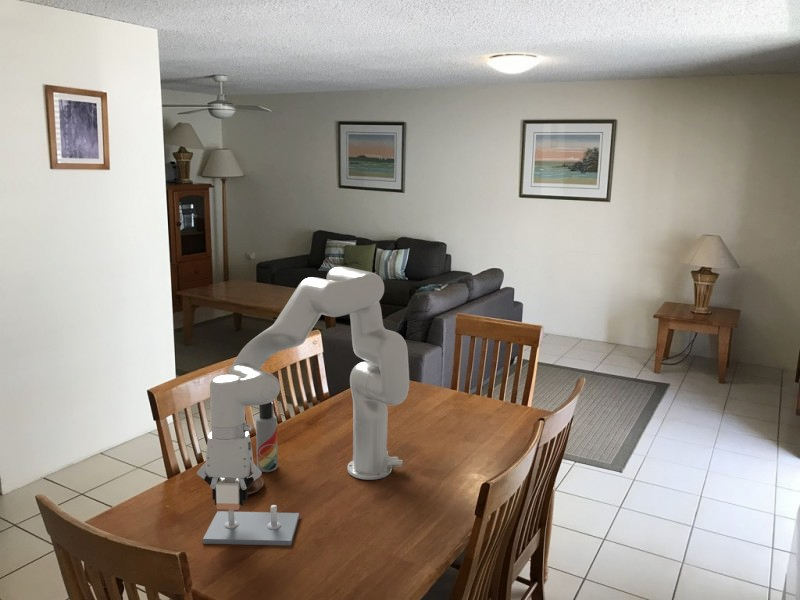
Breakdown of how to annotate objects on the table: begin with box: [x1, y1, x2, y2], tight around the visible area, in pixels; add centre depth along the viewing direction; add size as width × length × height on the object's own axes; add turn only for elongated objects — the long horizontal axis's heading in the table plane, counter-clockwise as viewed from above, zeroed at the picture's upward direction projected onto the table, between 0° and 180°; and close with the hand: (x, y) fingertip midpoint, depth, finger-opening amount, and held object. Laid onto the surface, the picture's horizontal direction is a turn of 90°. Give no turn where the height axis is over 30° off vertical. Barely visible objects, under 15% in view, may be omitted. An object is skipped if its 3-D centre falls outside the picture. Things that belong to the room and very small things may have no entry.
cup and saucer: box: [247, 470, 265, 496], centre depth 174 cm, size 12×12×6 cm
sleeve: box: [216, 478, 241, 511], centre depth 153 cm, size 5×5×6 cm
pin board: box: [202, 504, 300, 546], centre depth 155 cm, size 20×12×6 cm, turn 90°
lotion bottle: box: [255, 401, 278, 473], centre depth 185 cm, size 6×6×20 cm
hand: (230, 501), depth 154 cm, fingers closed on sleeve, 5 cm apart
